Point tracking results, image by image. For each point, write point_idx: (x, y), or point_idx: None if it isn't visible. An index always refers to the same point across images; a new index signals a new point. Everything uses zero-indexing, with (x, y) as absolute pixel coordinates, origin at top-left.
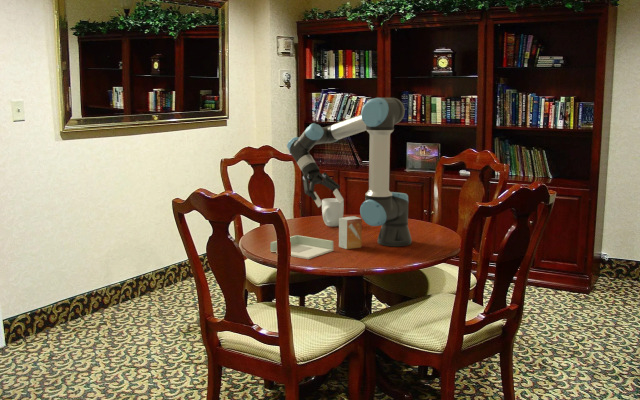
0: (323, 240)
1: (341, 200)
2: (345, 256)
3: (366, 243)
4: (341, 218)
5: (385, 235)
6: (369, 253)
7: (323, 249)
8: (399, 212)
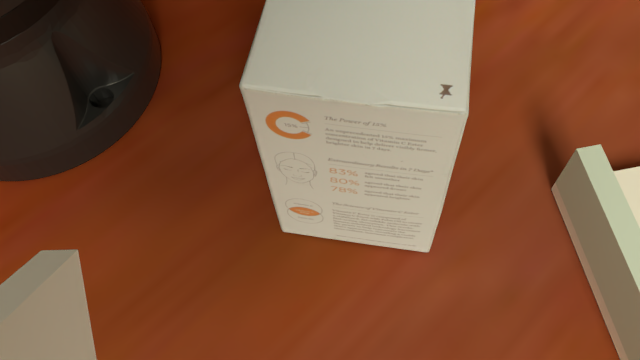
0: (637, 227)
1: (76, 297)
2: (574, 38)
3: (180, 189)
4: (469, 70)
5: (125, 16)
6: None
7: (638, 218)
8: None
